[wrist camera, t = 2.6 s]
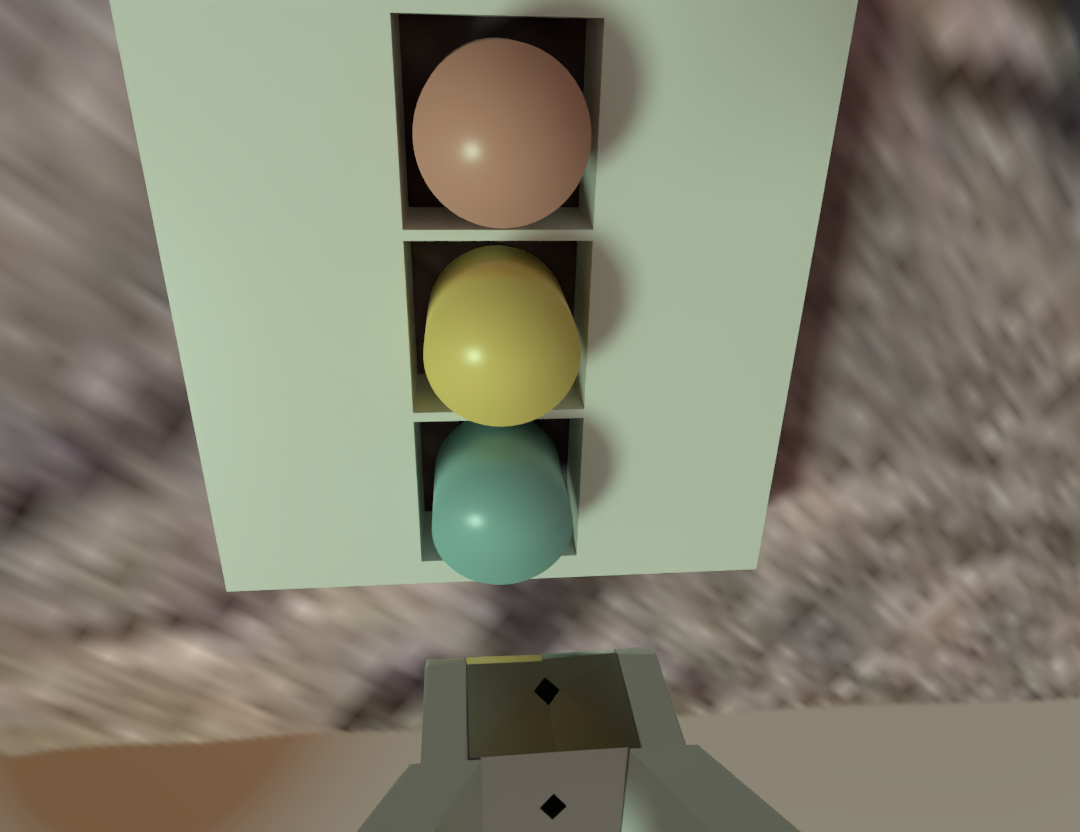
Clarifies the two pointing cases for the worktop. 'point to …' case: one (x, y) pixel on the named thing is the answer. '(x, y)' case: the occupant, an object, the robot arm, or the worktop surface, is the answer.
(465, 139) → the salmon brown ball
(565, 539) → the button teal
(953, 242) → the worktop surface
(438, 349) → the button mustard
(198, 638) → the worktop surface
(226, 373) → the panel
